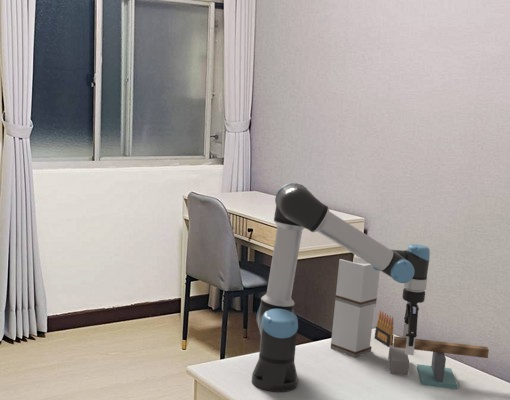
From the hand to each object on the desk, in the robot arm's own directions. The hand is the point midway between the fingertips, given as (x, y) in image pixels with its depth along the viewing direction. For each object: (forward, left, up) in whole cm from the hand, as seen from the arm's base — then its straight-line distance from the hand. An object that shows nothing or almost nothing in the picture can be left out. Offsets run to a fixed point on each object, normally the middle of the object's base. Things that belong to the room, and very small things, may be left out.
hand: (407, 348), depth 246 cm
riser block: (-2, +7, -10) cm, 12 cm away
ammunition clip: (-6, +33, -10) cm, 35 cm away
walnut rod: (+11, 0, 0) cm, 11 cm away
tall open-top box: (-19, +19, -10) cm, 29 cm away
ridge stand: (+11, 0, -10) cm, 15 cm away
